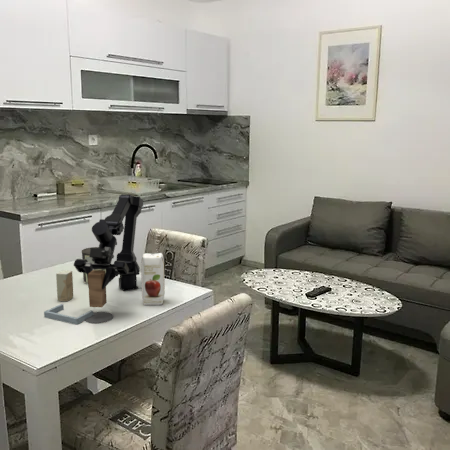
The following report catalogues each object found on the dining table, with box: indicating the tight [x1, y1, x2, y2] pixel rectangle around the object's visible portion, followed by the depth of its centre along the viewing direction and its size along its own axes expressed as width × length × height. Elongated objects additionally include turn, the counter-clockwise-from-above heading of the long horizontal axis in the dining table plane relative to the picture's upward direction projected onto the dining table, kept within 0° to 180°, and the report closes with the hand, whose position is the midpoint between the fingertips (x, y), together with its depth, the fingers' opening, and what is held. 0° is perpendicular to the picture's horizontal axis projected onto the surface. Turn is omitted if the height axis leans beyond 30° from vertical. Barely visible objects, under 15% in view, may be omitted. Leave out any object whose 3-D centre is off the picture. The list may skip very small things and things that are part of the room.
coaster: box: [84, 311, 114, 324], centre depth 172 cm, size 10×10×1 cm
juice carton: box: [140, 252, 166, 306], centre depth 186 cm, size 8×9×19 cm
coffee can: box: [81, 246, 106, 285], centre depth 211 cm, size 10×10×14 cm
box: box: [55, 269, 74, 302], centre depth 189 cm, size 5×4×11 cm
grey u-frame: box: [43, 303, 94, 325], centre depth 173 cm, size 8×15×2 cm, turn 65°
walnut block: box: [87, 270, 108, 308], centre depth 170 cm, size 4×4×12 cm
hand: (95, 288), depth 169 cm, fingers closed on walnut block, 4 cm apart
